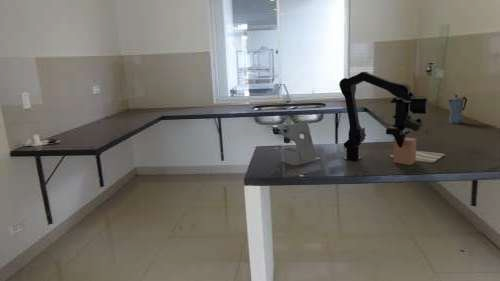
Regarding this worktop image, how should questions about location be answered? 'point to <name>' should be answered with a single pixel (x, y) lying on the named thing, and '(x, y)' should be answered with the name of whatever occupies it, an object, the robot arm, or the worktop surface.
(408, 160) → the terracotta block
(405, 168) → the worktop surface
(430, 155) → the birch board
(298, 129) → the phone holder
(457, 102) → the moka pot
